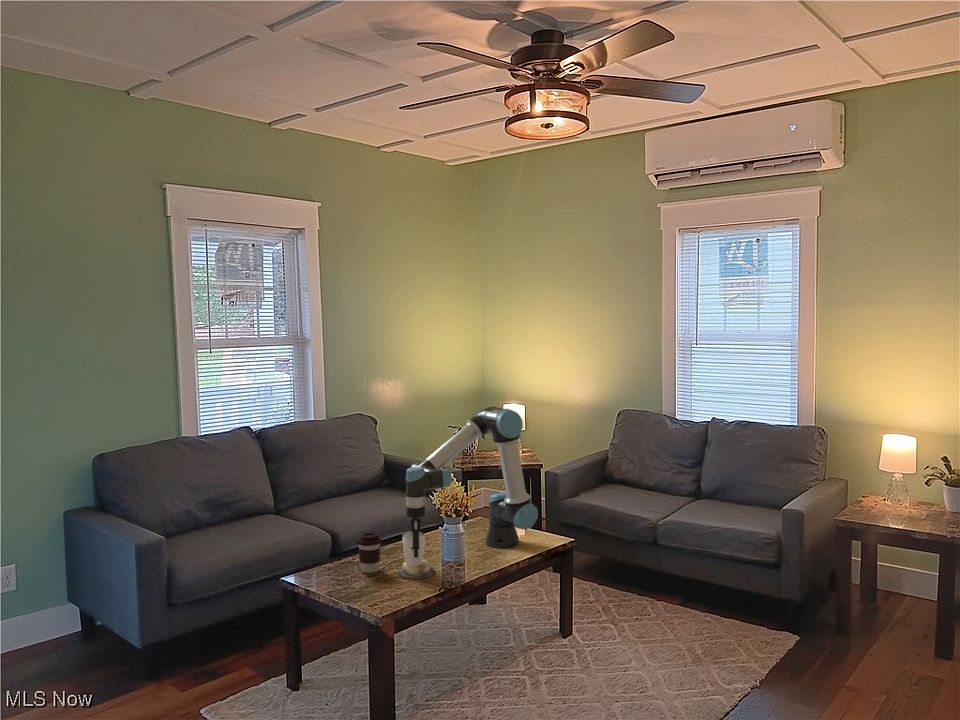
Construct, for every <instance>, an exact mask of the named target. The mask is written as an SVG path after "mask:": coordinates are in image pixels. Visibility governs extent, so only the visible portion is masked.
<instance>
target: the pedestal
mask: <svg viewBox="0 0 960 720" xmlns="http://www.w3.org/2000/svg"><path fill="white" fill-rule="evenodd" d="M435 574H436V570H435V568H433V567H432V566H431V562H430V561H429V560H427V559H423V562H422V564H421V565H419V566H408V565H406V561H404V562H403V563H402V567H401V568H400V569H399V570H398V571H397V575H398V576H399V578H401V579H404V580H413V581H414V580H415V581H416V580H424V579H429V578H432V577H434V576H435Z"/></svg>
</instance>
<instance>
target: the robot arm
mask: <svg viewBox="0 0 960 720" xmlns="http://www.w3.org/2000/svg"><path fill="white" fill-rule="evenodd" d="M522 419H523V418H522V417H521V415H520V414H519V413H518V412H517V411H515V410H512V409H510V408H503V407H497V406H489V407H486V408H483V409H482V410H479V411H478V412H476V413H475V414H474V415H472V416H471V417H469V419H467V421H466V422H465V423H466V424H465V425H464V426H462V428H461V429H460V430H458V431H457V432H455V434H454V435H453V436H451V437H450V438H449V439H447V441H445V442H444V443H443V444H442V445H441V446H440V447H438V448H437V449H435V451H434V452H432V453H431V454H430V455H429V456H427V458H425V459H424V460H423V461H421V462H420V463H419V462H417V463H415V464H412V465H411V467H409V468H407V469H406V475H405V489H406V490H405V493H406V498H405V497H404V501H406V507H405V508H406V517H408V518H412V519H410V526H411V532H413V547H412V548H411V549H413V565H419V532H421V524H422V523H421V520H422V519H420V518H422V517H424V516H425V515H426V506H425V505H426V491H430V490H438V489H444V488H448V487H450V486H451V485H452V482H453V477H452V473H451V471H450V470H449V469H447V468H444V467H445V466H446V465H448V464H449V463H451V461H452V460H453V459H455V457H457V456H458V455H459V454H460V453H461V452H463V451H464V450H465V449H466V448H468V447H469V446H470V445H471V444H472V443H473V442H474V441H476V440H477V439H482V438H483V437H484V436H485V435H487V434H491V435H492V442H493V443H494V444H496V445H497V449H498V453H499V454H498V455H499V459H500V465H501V471H502V476H503V483H504V488H505V491H502V492H495V493H492V494H490V495H489V499H488V509H489V510H488V512H489V514H488V517H489V527H488V530H487V533H486V536H485V545H487V546H488V547H490V548H491V547H493V548H498V549H499V548H500V549H504V548H512V547H516V546H518V545H519V543H520V541H519V535H518V532H517V529H519V530H528V529H530V528H532V527H533V526H534V525H535V523H536V521H538V517H539V511H538V508H537V506H535V504H533V503H532V499H531V495H530V494H529V493H527V492H526V491H527V490H526V485H525V479H524V474H523V467H522V462H521V457H520V450H519V445H518V441H519V439H520V437H521V436H520V434H521V433H522V430H523V426H524V425H523V420H522Z"/></svg>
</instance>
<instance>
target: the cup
mask: <svg viewBox="0 0 960 720" xmlns="http://www.w3.org/2000/svg"><path fill="white" fill-rule="evenodd" d="M425 544H426V540H425V533H423V532H422V531H420V532H419V565H421V564H422V562H423V560H424V551H425V546H426V545H425ZM402 547H403V555H404V560H405V561H406V565H408V566H419V565H413V549H411V548H412V547H413V532H412V531H408V532H405V533H403V534H402ZM405 561H404V562H405Z"/></svg>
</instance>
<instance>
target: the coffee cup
mask: <svg viewBox="0 0 960 720" xmlns="http://www.w3.org/2000/svg"><path fill="white" fill-rule="evenodd" d="M356 543H357V544H358V557H359V558H358V560H359V563H360V571H361V573H363V574H373V573H376V572H378V571H380V570H379V569H380V561H381V543H382V537H381V536H379V534H378V533H376V532H364V533H361V535H360V536H359V537H358V538H357V539H356Z"/></svg>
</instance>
